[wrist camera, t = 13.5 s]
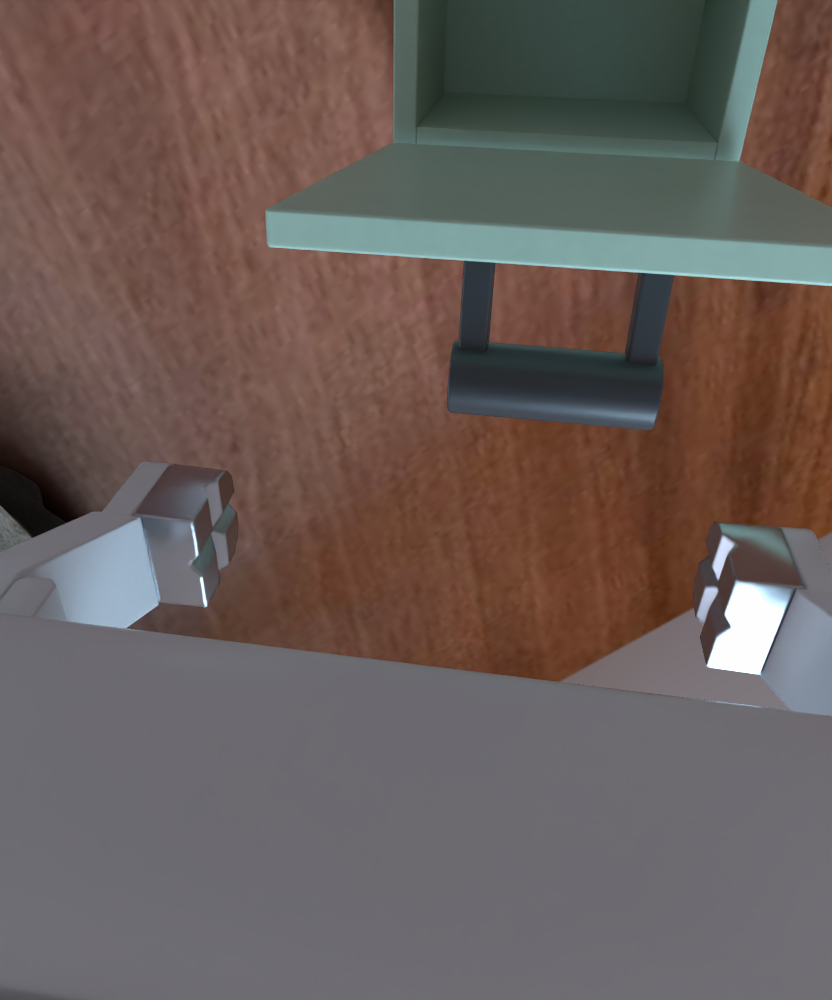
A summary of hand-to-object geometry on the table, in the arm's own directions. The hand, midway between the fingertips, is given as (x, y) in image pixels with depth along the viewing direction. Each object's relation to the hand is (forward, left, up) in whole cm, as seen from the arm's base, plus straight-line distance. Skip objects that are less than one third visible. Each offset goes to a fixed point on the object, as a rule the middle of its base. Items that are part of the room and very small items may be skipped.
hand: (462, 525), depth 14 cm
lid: (-3, +2, -13) cm, 13 cm away
